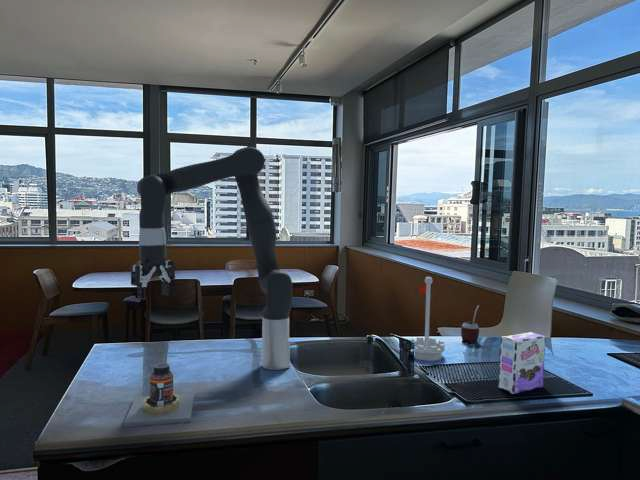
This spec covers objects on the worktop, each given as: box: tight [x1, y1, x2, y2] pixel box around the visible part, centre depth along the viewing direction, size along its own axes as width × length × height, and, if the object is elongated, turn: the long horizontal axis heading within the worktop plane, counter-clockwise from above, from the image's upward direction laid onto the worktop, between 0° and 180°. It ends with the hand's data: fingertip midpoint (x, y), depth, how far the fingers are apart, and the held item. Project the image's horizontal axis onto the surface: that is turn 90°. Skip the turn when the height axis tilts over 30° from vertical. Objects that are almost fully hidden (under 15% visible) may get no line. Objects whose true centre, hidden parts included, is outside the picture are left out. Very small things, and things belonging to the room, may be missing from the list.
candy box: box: [498, 331, 546, 395], centre depth 144 cm, size 14×6×16 cm, turn 117°
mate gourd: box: [460, 304, 480, 345], centre depth 193 cm, size 8×8×15 cm
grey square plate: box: [123, 392, 195, 428], centre depth 125 cm, size 16×16×1 cm
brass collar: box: [143, 393, 180, 415], centre depth 125 cm, size 9×9×2 cm
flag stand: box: [409, 276, 446, 362], centre depth 174 cm, size 13×13×30 cm
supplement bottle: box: [149, 362, 174, 406], centre depth 125 cm, size 6×6×11 cm
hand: (154, 296), depth 140 cm, fingers open, 8 cm apart
